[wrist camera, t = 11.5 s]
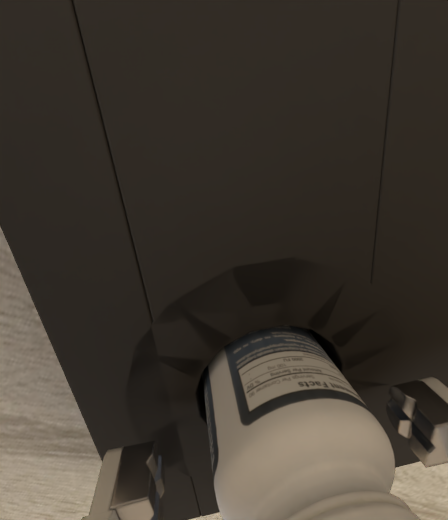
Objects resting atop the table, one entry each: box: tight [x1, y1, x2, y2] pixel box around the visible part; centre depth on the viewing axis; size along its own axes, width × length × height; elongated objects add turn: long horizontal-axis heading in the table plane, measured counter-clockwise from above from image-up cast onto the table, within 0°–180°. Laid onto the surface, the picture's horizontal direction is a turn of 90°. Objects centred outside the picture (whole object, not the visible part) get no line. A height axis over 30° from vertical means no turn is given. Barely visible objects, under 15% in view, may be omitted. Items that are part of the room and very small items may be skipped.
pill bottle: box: [202, 325, 420, 520], centre depth 9 cm, size 5×5×9 cm
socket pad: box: [0, 0, 448, 520], centre depth 11 cm, size 20×20×3 cm
